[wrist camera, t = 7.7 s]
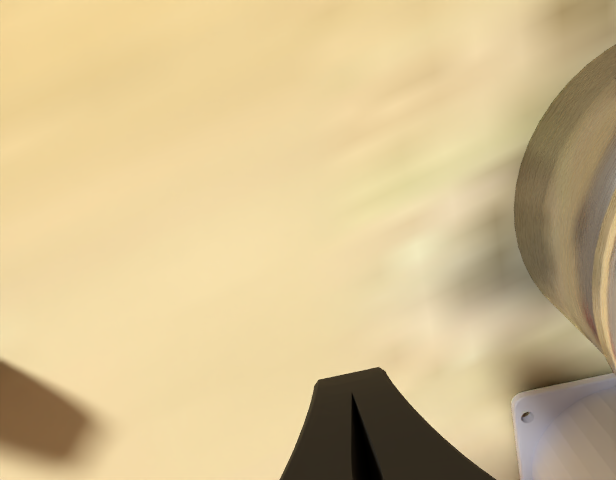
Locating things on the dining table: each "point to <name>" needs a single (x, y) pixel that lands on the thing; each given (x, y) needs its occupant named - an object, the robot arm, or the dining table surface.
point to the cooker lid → (606, 285)
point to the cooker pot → (569, 190)
